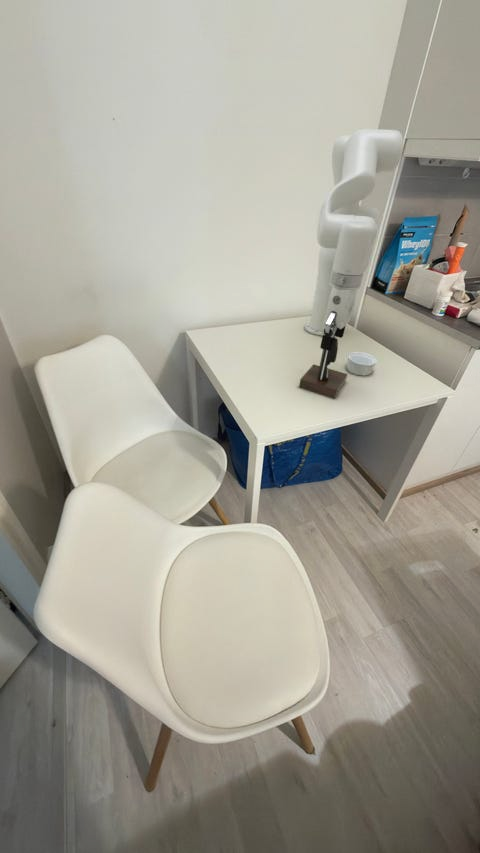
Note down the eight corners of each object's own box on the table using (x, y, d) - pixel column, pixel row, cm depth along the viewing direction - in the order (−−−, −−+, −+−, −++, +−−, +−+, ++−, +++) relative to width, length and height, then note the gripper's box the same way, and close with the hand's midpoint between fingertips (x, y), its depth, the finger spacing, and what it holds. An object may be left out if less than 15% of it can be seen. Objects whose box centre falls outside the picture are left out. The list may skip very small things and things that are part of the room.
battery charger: (330, 382, 99) (339, 346, 92) (317, 380, 100) (325, 344, 92) (331, 371, 104) (339, 336, 97) (318, 369, 105) (326, 334, 98)
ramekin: (376, 368, 113) (380, 357, 111) (367, 379, 107) (371, 367, 105) (350, 361, 117) (353, 349, 114) (341, 371, 111) (344, 359, 108)
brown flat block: (311, 372, 110) (313, 364, 108) (345, 382, 105) (347, 373, 104) (298, 387, 102) (300, 378, 100) (334, 399, 98) (336, 390, 96)
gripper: (351, 291, 78) (335, 358, 88) (369, 273, 89) (353, 335, 100) (319, 285, 80) (307, 351, 91) (341, 268, 92) (328, 328, 103)
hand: (331, 342), depth 96 cm, fingers open, 9 cm apart
